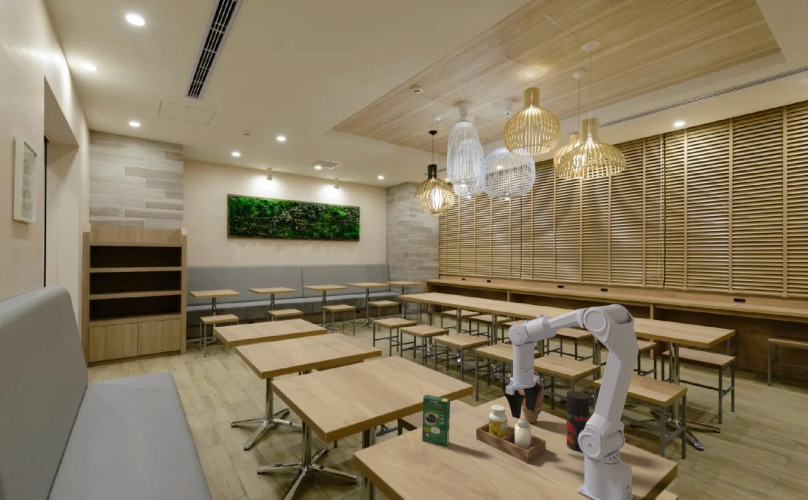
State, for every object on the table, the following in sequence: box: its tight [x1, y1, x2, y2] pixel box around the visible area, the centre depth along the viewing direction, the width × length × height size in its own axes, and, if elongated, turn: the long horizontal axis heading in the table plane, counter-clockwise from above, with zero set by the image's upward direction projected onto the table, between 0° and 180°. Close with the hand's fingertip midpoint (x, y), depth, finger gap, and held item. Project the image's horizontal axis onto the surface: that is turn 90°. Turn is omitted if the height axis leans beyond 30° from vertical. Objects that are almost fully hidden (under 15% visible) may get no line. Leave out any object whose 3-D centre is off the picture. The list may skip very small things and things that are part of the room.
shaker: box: [514, 417, 532, 450], centre depth 106 cm, size 4×4×8 cm
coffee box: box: [421, 394, 451, 446], centre depth 111 cm, size 8×3×13 cm, turn 67°
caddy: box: [475, 422, 547, 464], centre depth 109 cm, size 17×10×3 cm, turn 41°
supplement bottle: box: [488, 404, 508, 438], centre depth 112 cm, size 5×5×10 cm
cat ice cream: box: [519, 370, 545, 424], centre depth 124 cm, size 9×8×18 cm
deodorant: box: [566, 390, 590, 453], centre depth 108 cm, size 6×6×15 cm
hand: (523, 413), depth 106 cm, fingers open, 7 cm apart
